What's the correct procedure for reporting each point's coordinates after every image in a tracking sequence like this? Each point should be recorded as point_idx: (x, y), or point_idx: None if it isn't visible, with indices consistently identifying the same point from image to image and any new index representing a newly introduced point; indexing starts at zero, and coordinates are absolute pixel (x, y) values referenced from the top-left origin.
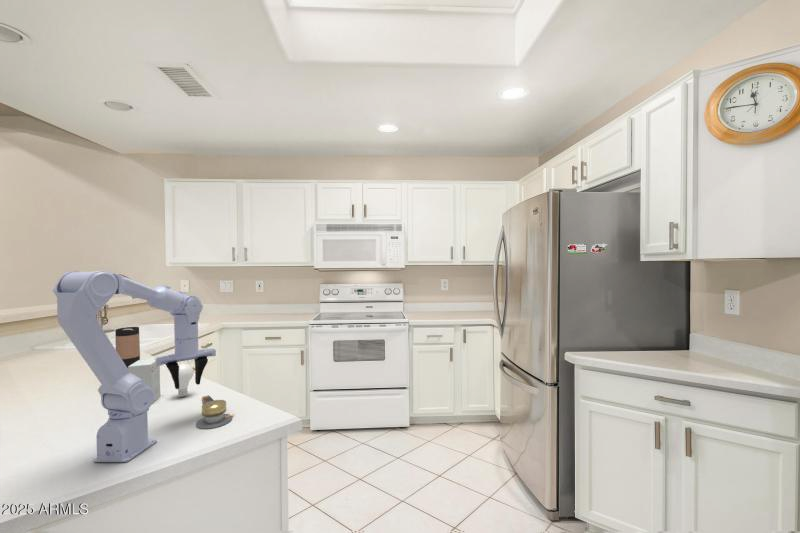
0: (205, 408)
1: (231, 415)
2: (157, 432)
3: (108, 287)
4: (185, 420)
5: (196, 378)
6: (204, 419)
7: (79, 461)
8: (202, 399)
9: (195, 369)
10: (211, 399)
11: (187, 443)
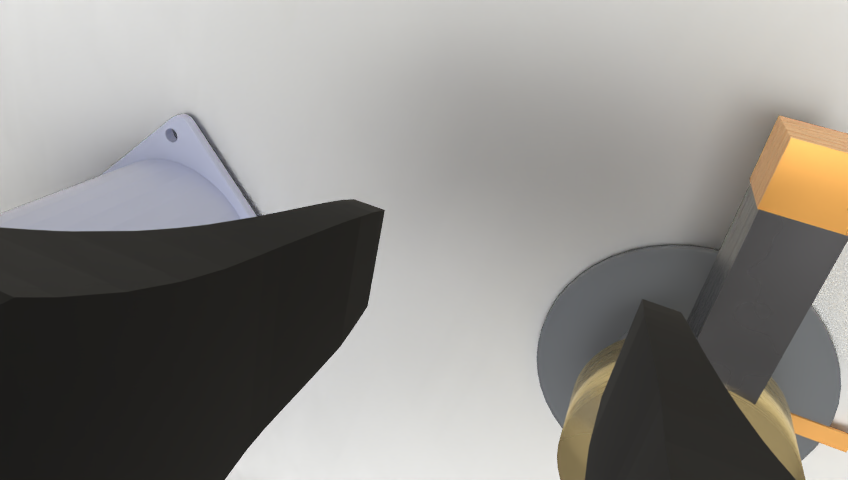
0: (562, 477)
1: (820, 440)
2: (346, 144)
3: None
4: (570, 116)
5: (611, 415)
6: (645, 291)
7: (17, 132)
8: (776, 154)
9: (661, 425)
10: (777, 332)
11: (401, 455)
